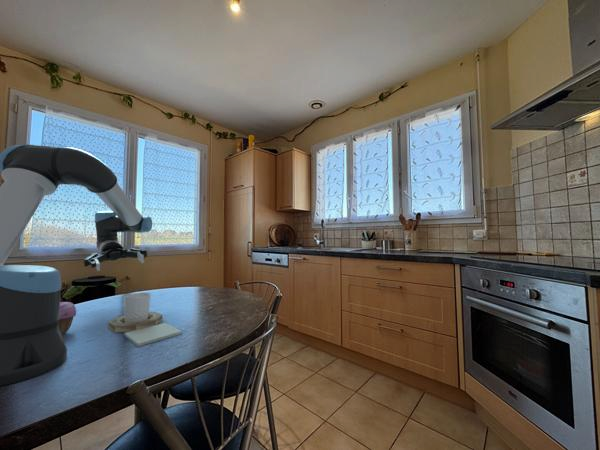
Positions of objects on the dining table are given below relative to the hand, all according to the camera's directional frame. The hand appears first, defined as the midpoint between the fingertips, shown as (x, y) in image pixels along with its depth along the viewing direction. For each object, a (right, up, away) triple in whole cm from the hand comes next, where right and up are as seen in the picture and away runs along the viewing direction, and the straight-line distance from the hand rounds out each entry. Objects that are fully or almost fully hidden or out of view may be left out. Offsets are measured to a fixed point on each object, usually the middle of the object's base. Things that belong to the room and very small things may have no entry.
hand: (121, 263), depth 92 cm
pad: (+21, -20, -16) cm, 33 cm away
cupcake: (-9, -20, -16) cm, 27 cm away
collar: (+9, -20, -6) cm, 23 cm away
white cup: (+9, -21, -6) cm, 23 cm away
